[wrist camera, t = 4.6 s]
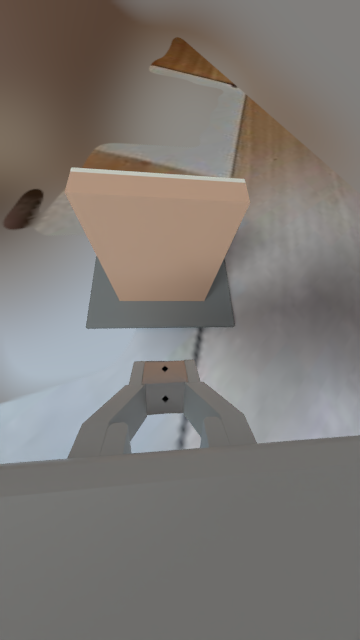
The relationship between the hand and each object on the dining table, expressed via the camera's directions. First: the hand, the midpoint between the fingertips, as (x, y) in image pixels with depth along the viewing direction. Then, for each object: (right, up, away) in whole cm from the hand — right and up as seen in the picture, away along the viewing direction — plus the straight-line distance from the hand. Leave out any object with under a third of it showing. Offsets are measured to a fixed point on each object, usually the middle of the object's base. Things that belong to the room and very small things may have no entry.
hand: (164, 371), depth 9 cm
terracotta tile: (-2, +6, +17) cm, 18 cm away
